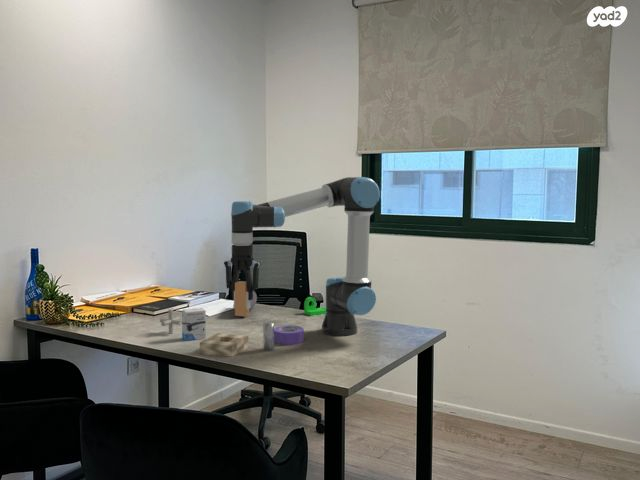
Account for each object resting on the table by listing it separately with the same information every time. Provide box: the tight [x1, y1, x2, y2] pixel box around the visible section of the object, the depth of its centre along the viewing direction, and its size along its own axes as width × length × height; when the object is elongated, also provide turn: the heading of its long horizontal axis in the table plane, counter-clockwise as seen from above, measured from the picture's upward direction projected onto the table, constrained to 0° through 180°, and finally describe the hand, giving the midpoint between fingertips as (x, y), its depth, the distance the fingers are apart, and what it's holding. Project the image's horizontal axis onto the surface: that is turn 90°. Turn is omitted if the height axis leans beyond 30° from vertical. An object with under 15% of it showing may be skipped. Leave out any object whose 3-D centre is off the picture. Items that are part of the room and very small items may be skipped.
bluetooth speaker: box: [232, 290, 258, 312], centre depth 277 cm, size 23×9×10 cm, turn 179°
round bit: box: [262, 321, 275, 352], centre depth 217 cm, size 4×4×10 cm
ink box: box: [181, 307, 207, 342], centre depth 231 cm, size 8×5×12 cm, turn 117°
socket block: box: [199, 332, 249, 357], centre depth 216 cm, size 13×14×4 cm
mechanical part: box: [303, 296, 326, 317], centre depth 277 cm, size 12×6×8 cm, turn 123°
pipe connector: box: [159, 308, 182, 335], centre depth 238 cm, size 10×10×10 cm
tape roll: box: [274, 324, 305, 346], centre depth 229 cm, size 12×12×5 cm
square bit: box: [234, 280, 251, 317], centre depth 210 cm, size 4×4×12 cm
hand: (242, 308), depth 210 cm, fingers closed on square bit, 4 cm apart
